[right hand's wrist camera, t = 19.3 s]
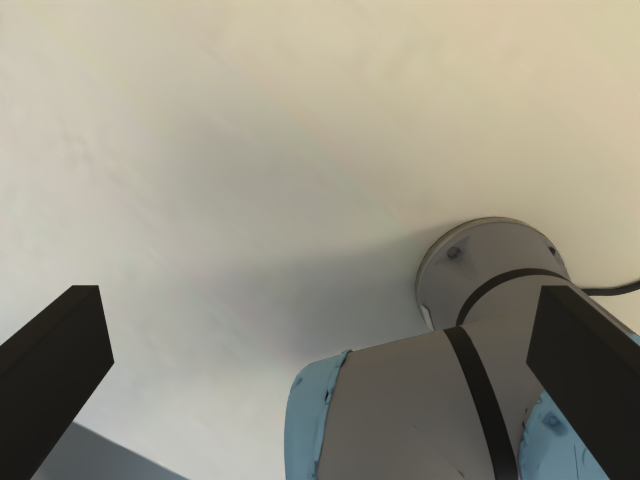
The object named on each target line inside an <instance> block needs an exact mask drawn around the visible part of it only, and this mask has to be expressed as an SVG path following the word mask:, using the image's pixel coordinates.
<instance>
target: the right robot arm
mask: <svg viewBox="0 0 640 480" xmlns="http://www.w3.org/2000/svg"><path fill="white" fill-rule="evenodd" d="M638 289H640V282H638V283H635V284H632V285H629V286H625V287H621V288H616V289H581V290H580V289H579V288H578V287H577V286H575V285H574V284H573V283H572V282H571V279H570V277H569V275H568V272H567V270H566V267H565V265H564V262H563V260H562V258H561V256H560V254H559V252H558V251H557V249H556V248H555V246H554V245H553V244H552V243H551V242H550V241H549V240H548V238H546V237H545V236H544V235H543V234H541V233H540V232H538V231H537V230H536V229H534V228H532V227H531V226H529V225H527V224H525V223H523V222H520V221H518V220H514V219H509V218H501V217H490V218H482V219H477V220H473V221H470V222H467V223H465V224H462V225H460V226H458V227H456V228H454V229H452V230H451V231H449V232H448V233H446V234H445V235H444V236H443V237H441V238H440V239H439V240H438V241H437V242H436V243H435V244H434V245H433V246H432V247H431V248H430V250H429V251H428V253H427V254H426V256H425V257H424V259H423V261H422V263H421V265H420V267H419V270H418V273H417V277H416V284H415V293H416V300H417V304H418V307H419V310H420V312H421V314H422V317H423V319H424V321H425V323H426V324H427V327H428V328H429V329H430V330H431V331H432V332H431V333H427V334H423V335H419V336H415V337H411V338H407V339H402V340H398V341H394V342H390V343H386V344H382V345H377V346H373V347H369V348H365V349H361V350H356V351H352V350H351V349H350V350H345V351H344V352H342V354H340V355H337V356H334V357H331V358H327V359H324V360H321V361H317V362H314V363H311V364H309V365H307V366H306V367H304V368H303V369H302V370H301V371H300V372H299V373H298V375H297V376H296V378H295V380H294V382H293V384H292V387H291V391H290V394H289V397H288V402H287V408H286V416H285V430H284V459H285V474H286V480H640V336H638V335H637V334H636V333H635V332H633V331H632V330H631V329H630V328H628V327H627V326H626V325H624V324H623V323H622V322H621V321H619V320H618V319H617V318H616V317H614V316H613V315H612V314H611V313H609V312H608V311H607V310H605V309H604V308H603V307H602V306H600V305H599V304H598V303H597V302H595V301H594V300H593V299H591V298H590V297H589V296H614V295H621V294H625V293H629V292H632V291H636V290H638ZM113 364H114V359H113V354H112V349H111V344H110V339H109V334H108V330H107V325H106V320H105V315H104V310H103V305H102V301H101V296H100V291H99V286H98V285H72V286H71V287H70V288H69V289H68V290H66V291H65V292H64V293H63V294H62V295H60V296H59V297H58V298H57V299H56V300H54V301H53V302H52V303H51V304H50V305H48V306H47V307H46V308H45V309H44V310H43V311H41V312H40V313H39V314H38V315H37V316H35V317H34V318H33V319H32V320H31V321H29V322H28V323H27V324H26V325H25V326H23V327H22V328H21V329H20V330H19V331H18V332H16V333H15V334H14V335H13V336H12V337H10V338H9V339H8V340H7V341H6V342H4V343H3V344H2V345H1V346H0V480H30V479H31V478H32V476H33V475H34V474H35V472H36V471H37V469H38V468H39V467H40V465H41V464H42V462H43V461H44V460H45V458H46V457H47V456H48V454H49V453H50V451H51V450H52V449H53V447H54V446H55V444H56V443H57V442H58V440H59V439H60V438H61V436H62V435H63V433H64V432H65V431H66V429H67V428H68V426H69V425H70V424H71V422H72V421H73V419H74V418H75V417H76V415H77V414H78V413H79V411H80V410H81V408H82V407H83V406H84V404H85V403H86V401H87V400H88V399H89V397H90V396H91V395H92V393H93V392H94V390H95V389H96V388H97V386H98V385H99V383H100V382H101V381H102V379H103V378H104V376H105V375H106V374H107V372H108V371H109V370H110V368H111V367H112V365H113Z"/></svg>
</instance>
